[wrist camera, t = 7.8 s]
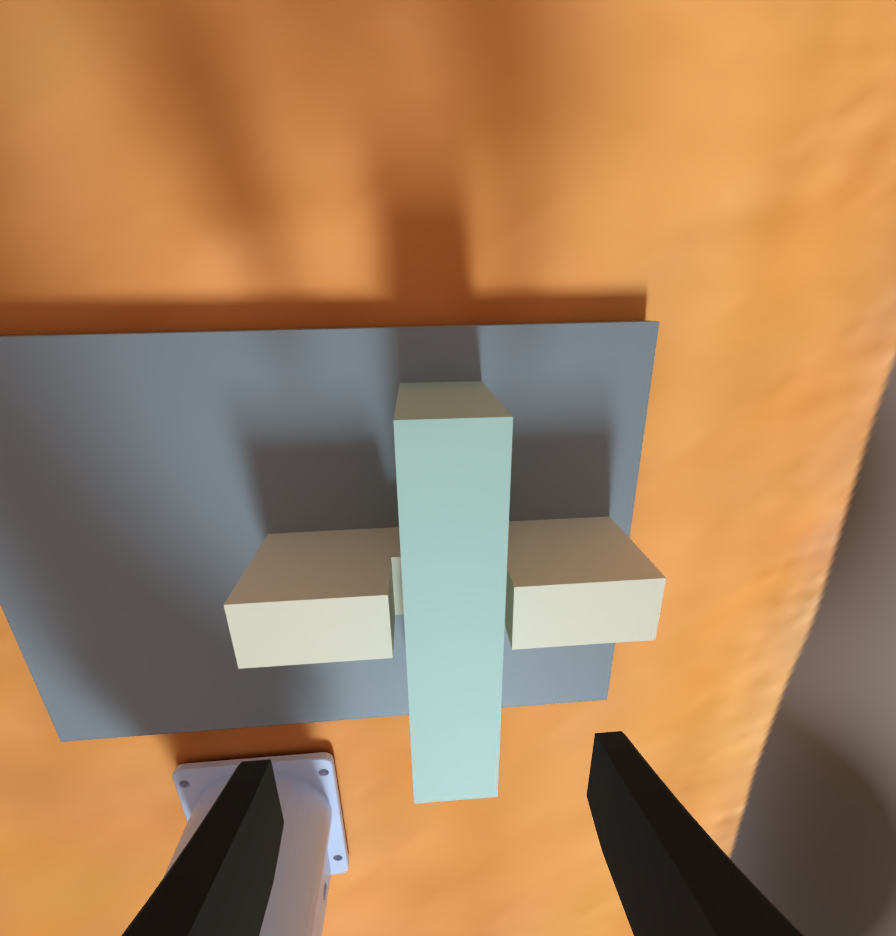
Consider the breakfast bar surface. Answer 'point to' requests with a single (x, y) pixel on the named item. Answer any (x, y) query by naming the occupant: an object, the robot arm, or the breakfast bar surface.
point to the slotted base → (300, 517)
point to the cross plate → (453, 580)
